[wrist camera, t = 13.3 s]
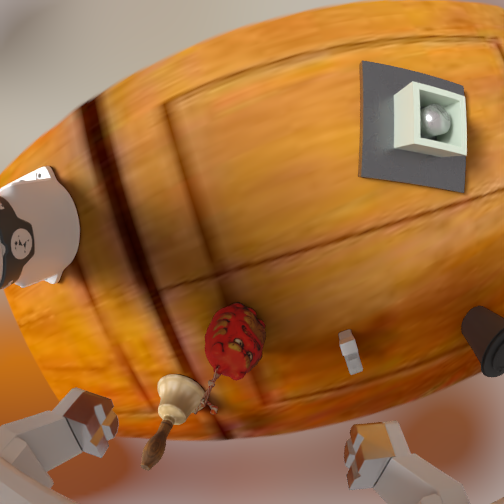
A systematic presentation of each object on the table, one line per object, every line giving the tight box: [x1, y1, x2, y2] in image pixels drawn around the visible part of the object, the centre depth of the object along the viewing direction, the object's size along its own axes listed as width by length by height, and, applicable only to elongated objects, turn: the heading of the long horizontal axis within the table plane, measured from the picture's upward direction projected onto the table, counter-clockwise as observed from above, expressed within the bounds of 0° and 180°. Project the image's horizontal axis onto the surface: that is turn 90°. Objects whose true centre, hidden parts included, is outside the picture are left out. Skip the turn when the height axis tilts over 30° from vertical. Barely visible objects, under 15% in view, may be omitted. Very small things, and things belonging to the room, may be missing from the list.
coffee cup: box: [461, 306, 504, 377], centre depth 29 cm, size 8×8×10 cm
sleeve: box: [394, 81, 467, 157], centre depth 25 cm, size 6×6×6 cm
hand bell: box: [141, 374, 205, 470], centre depth 35 cm, size 8×8×16 cm
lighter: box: [338, 329, 363, 375], centre depth 33 cm, size 7×2×8 cm, turn 23°
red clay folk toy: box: [194, 303, 266, 414], centre depth 31 cm, size 8×7×15 cm
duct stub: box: [358, 61, 466, 193], centre depth 26 cm, size 14×14×6 cm
